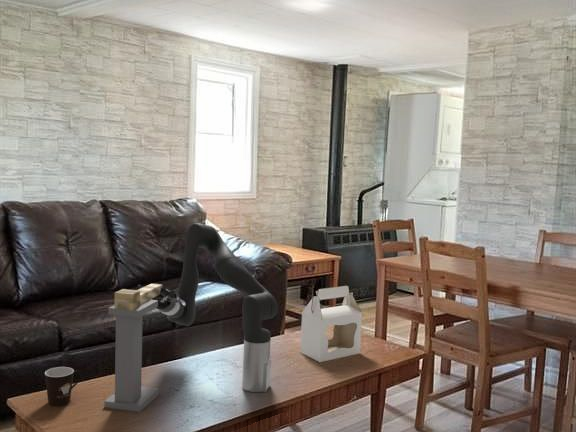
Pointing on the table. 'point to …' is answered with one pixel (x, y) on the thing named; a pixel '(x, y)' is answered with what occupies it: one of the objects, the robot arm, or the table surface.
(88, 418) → the table surface
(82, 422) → the table surface
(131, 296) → the beech bar
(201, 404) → the table surface
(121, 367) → the grey stand
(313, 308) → the gable box
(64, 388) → the coffee mug
